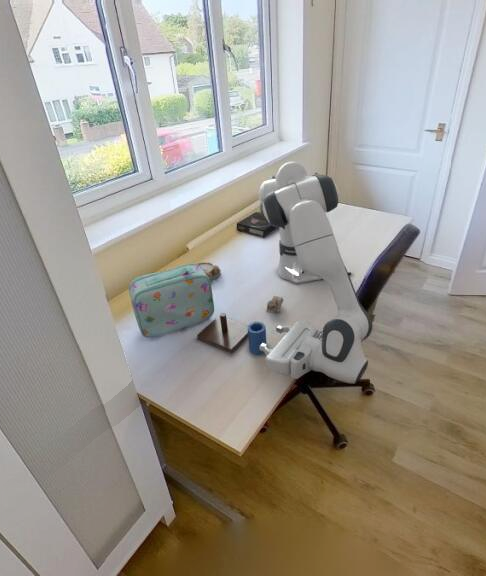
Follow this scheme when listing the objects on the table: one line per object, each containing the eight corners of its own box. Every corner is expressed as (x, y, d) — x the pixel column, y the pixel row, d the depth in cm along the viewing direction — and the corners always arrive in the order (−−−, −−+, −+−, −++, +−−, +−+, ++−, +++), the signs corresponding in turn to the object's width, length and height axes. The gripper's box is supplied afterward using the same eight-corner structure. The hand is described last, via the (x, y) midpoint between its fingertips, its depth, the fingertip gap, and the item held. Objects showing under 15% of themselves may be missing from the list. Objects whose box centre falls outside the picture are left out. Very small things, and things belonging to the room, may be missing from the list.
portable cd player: (236, 230, 197) (235, 223, 195) (256, 218, 209) (256, 211, 207) (263, 238, 189) (262, 230, 187) (282, 225, 201) (282, 218, 199)
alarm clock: (198, 260, 168) (225, 263, 160) (201, 270, 170) (228, 273, 162) (180, 272, 160) (208, 276, 152) (184, 283, 162) (211, 287, 154)
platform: (253, 332, 132) (251, 310, 127) (231, 354, 123) (228, 332, 118) (220, 319, 138) (217, 298, 133) (197, 339, 130) (193, 318, 125)
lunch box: (210, 304, 146) (202, 253, 134) (220, 319, 138) (212, 266, 126) (137, 327, 136) (122, 274, 124) (144, 344, 129) (128, 290, 117)
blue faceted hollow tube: (269, 346, 125) (268, 325, 120) (260, 357, 122) (259, 335, 117) (255, 341, 128) (254, 319, 123) (246, 351, 124) (244, 329, 119)
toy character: (266, 317, 141) (262, 309, 136) (275, 299, 145) (271, 290, 140) (276, 320, 140) (273, 312, 135) (285, 302, 143) (281, 293, 138)
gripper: (326, 323, 118) (286, 310, 124) (292, 366, 103) (249, 348, 110) (325, 339, 121) (286, 325, 128) (293, 383, 107) (251, 365, 113)
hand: (269, 336), depth 119 cm, fingers open, 8 cm apart
